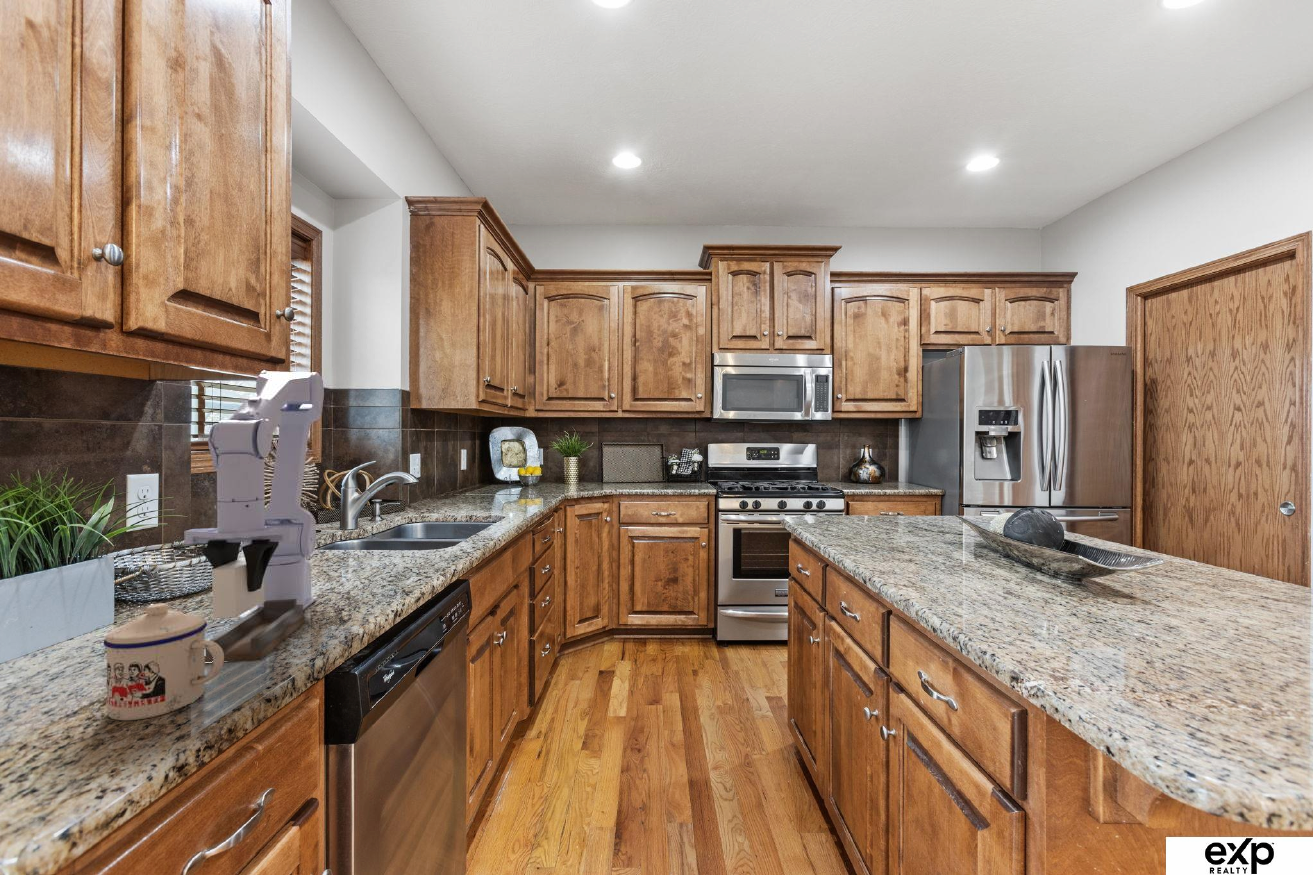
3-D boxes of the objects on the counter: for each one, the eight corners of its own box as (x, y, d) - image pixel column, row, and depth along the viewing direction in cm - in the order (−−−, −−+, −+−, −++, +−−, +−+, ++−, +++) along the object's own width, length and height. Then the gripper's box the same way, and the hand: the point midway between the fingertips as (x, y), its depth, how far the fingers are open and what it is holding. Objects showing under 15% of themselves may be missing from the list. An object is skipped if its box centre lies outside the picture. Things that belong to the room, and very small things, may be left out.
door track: (257, 625, 93) (257, 601, 93) (304, 621, 94) (304, 598, 94) (203, 663, 77) (203, 635, 77) (260, 659, 79) (260, 631, 79)
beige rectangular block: (213, 618, 80) (211, 569, 79) (243, 602, 87) (242, 557, 86) (235, 617, 80) (234, 569, 80) (264, 601, 87) (263, 556, 87)
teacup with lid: (79, 723, 61) (79, 618, 61) (152, 686, 71) (151, 594, 70) (191, 722, 62) (190, 617, 62) (249, 685, 71) (248, 593, 71)
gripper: (168, 503, 79) (169, 599, 79) (278, 502, 80) (278, 596, 81) (203, 498, 86) (203, 585, 86) (303, 497, 87) (303, 583, 88)
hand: (241, 590), depth 84 cm, fingers closed on beige rectangular block, 3 cm apart
